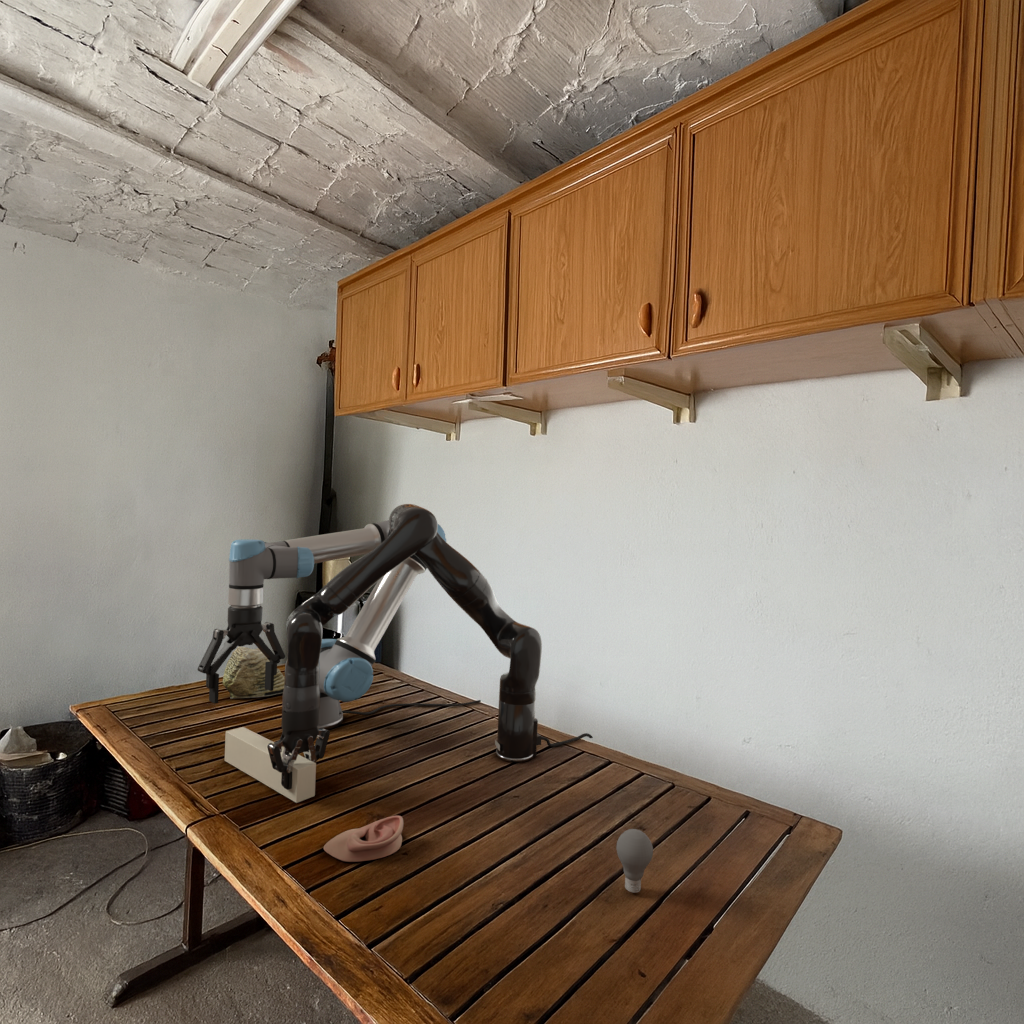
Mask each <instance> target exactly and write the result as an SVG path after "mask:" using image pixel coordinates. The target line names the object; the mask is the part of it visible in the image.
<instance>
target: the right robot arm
mask: <svg viewBox="0 0 1024 1024" xmlns="http://www.w3.org/2000/svg"><path fill="white" fill-rule="evenodd" d="M388 520H389V529H390V532H391V534H390V535H389V536H388V537H387V539H386V540H384V541H383V542H382V543H381V544H380V545H379V546H378V547H376V548H375V549H374V550H372V551H371V552H369V553H368V554H364V555H362V556H361V557H360V558H358V559H356V560H355V561H353V562H351V563H350V564H349V565H347V566H345V567H344V568H343V569H342V570H340V571H339V572H338V573H336V575H335V576H333V577H332V578H331V579H330V580H329V581H328V582H327V583H326V584H324V586H323V587H321V589H320V590H319V591H318V592H316V593H315V594H313V595H312V596H311V597H309V598H308V599H306V600H305V601H304V602H302V603H301V604H300V605H298V606H297V607H296V608H295V609H294V610H293V611H292V612H291V613H290V614H289V615H288V617H287V619H286V622H285V629H286V639H287V642H286V657H287V658H286V660H285V665H284V677H285V680H284V690H283V693H282V701H281V731H282V733H281V735H280V737H279V740H277V741H275V743H274V744H272V743H269V744H268V746H267V748H268V752H269V756H270V759H271V763H272V767H273V769H275V770H277V771H278V772H280V773H281V772H282V776H281V784H282V786H283V787H284V788H285V789H287V790H289V789H291V788H292V771H291V770H292V767H293V764H294V761H296V759H297V756H298V755H301V753H303V755H304V756H303V757H304V758H306V759H308V760H310V761H312V762H314V763H316V764H317V762H318V760H322V759H323V758H324V757H325V753H326V749H327V746H328V742H329V740H330V739H329V738H330V735H331V731H330V730H326V729H324V728H320V729H318V727H317V726H318V724H319V706H320V688H319V673H320V663H319V657H320V652H321V644H322V639H323V630H324V629H323V627H324V626H326V624H327V623H329V622H330V621H331V620H332V619H333V618H334V617H336V616H340V615H342V614H344V613H345V612H346V611H347V610H348V609H350V608H351V607H352V606H353V605H354V604H355V603H356V602H357V601H358V600H359V599H360V598H362V596H364V594H366V592H368V591H369V590H370V589H372V587H373V586H374V585H376V584H377V582H378V581H379V580H380V579H381V578H382V577H384V576H385V575H386V574H387V573H389V572H390V571H391V570H392V569H394V568H395V567H396V566H398V565H399V564H400V563H402V562H403V561H405V560H406V559H407V558H409V557H410V556H412V555H413V554H414V555H415V556H416V557H418V558H419V559H420V560H421V561H422V563H423V564H424V565H425V566H426V567H427V569H426V570H428V572H429V573H430V574H431V575H432V577H433V579H435V581H436V582H437V583H438V584H439V585H440V587H441V588H442V589H443V590H444V591H445V593H446V594H447V595H448V596H449V597H450V599H451V600H452V601H453V602H454V603H455V604H456V605H457V606H458V607H459V609H461V610H462V611H463V612H464V613H465V614H466V615H467V616H468V617H470V619H471V620H473V622H475V623H476V624H477V625H478V626H479V628H481V629H482V631H483V632H484V633H485V635H486V636H487V638H489V640H490V641H491V643H492V644H493V645H494V647H495V649H496V650H497V651H498V652H499V653H500V654H501V655H502V656H503V657H505V658H507V659H510V660H509V668H508V672H504V673H503V674H501V675H500V677H499V691H498V714H497V737H496V739H494V746H495V747H496V750H495V755H496V757H497V758H498V759H500V760H502V761H505V762H509V763H524V762H528V761H530V760H532V759H533V758H537V749H538V748H537V747H538V746H542V741H544V742H546V744H547V747H549V748H557V747H561V746H563V745H568V744H570V743H573V742H577V741H580V740H581V739H583V738H589V739H594V737H593V736H592V735H591V734H590V733H588V732H586V733H581V734H580V735H578V736H575V737H572V738H569V739H566V740H562V741H559V742H556V743H551V740H550V739H549V738H548V737H547V736H542V735H541V734H540V733H538V726H539V725H538V724H539V720H538V718H537V717H536V697H537V696H536V695H537V682H538V681H539V678H540V675H541V666H542V657H543V640H542V639H543V638H542V636H541V633H540V632H539V630H538V629H536V628H535V627H532V626H530V625H527V624H524V623H521V622H519V621H516V620H515V619H514V618H513V617H511V616H510V614H509V613H507V611H505V610H504V609H503V608H502V606H501V605H500V603H499V602H498V600H497V597H496V594H495V593H496V592H495V591H494V588H493V586H492V585H491V583H490V582H489V580H488V579H487V578H486V577H485V575H483V573H482V572H481V571H480V570H479V569H478V568H477V567H476V566H475V565H474V564H473V563H472V562H471V561H470V560H468V558H466V556H465V555H463V554H461V552H459V551H458V550H457V549H456V548H454V547H453V546H451V545H450V544H449V543H448V542H447V541H446V542H445V541H444V540H443V538H442V537H441V536H440V535H439V534H438V532H437V530H438V524H439V523H438V520H437V518H436V516H435V514H433V513H432V512H431V511H430V510H428V509H427V508H424V507H422V506H420V505H417V504H414V503H413V504H412V503H403V504H400V505H398V506H396V507H394V508H393V509H392V510H391V513H390V514H389V517H388ZM437 523H438V524H437ZM314 743H315V744H314ZM282 747H284V751H283V754H282V757H283V759H282V757H281V753H280V752H282ZM290 753H291V755H290Z"/></svg>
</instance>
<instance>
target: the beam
mask: <svg viewBox="0 0 1024 1024" xmlns="http://www.w3.org/2000/svg"><path fill="white" fill-rule="evenodd" d="M224 736H225V737H224V739H225V740H224V762H226V763H228V764H229V765H230V766H233V767H235V768H236V769H237V770H240V771H241V772H243V773H244V774H246V775H248V776H249V777H252V778H253V779H254V780H257V781H258V782H260V783H261V784H263V785H264V786H267V787H269V788H270V789H272V790H274V791H275V792H277V793H278V794H280V795H283V796H284V797H285V798H287V799H289V800H290V801H292V802H294V803H296V804H297V803H301V802H303V801H305V800H308V799H310V798H313V797H315V795H316V779H317V778H316V775H317V762H316V763H314V762H312V761H310V760H308V759H306V758H305V756H302V755H301V754H298V756H297V759H296V761H294V764H293V767H292V770H291V771H292V788H291V789H289V790H287V789H285V788H284V787H283V786H282V784H281V776H282V772H281V773H280V772H278V771H277V770H275V769H273V767H272V763H271V759H270V756H269V752H268V748H267V746H268V744H269V743H272V744H274V743H275V742H276V741H275V742H274V741H273V740H270V739H268V738H266V737H265V736H263V735H260V734H258V733H257V732H254V731H253V730H250V729H249V728H247V727H245V726H242V727H241V726H240V727H238V728H233V729H230V730H226V731H225V735H224ZM284 748H285V747H284V746H282V752H280V753H281V757H282V754H283V751H284ZM290 755H291V753H290ZM282 759H283V757H282Z"/></svg>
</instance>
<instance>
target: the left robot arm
mask: <svg viewBox="0 0 1024 1024" xmlns="http://www.w3.org/2000/svg"><path fill="white" fill-rule="evenodd" d="M437 524H438V530H437V532H438V534H439V535H440V536H441V537H442V538H443V540H444V541H445V542H446V543H447V538H446V533H445V530H444V529H443V527H442V526H441V524H439V523H438V522H437ZM390 534H391V532H390V529H389V519H387V520H382V521H378V522H372V523H367V524H366V525H365V526H364V528H357V529H349V530H342V531H337V532H330V533H324V534H318V535H311V536H305V537H304V536H303V537H298V538H292V539H284V540H278V541H272V542H267V541H264V540H262V539H248V538H247V539H243V538H242V539H235V540H233V541H232V542H231V543H230V549H229V558H228V563H229V569H228V571H229V572H228V595H227V596H228V597H227V599H228V600H227V602H228V603H227V604H228V605H229V606H228V608H227V628H226V629H219V628H214V629H213V632H212V637H211V641H210V643H209V645H208V646H207V649H206V650H205V652H204V654H203V657H202V658H201V660H200V663H199V665H198V667H197V672H200V673H202V674H205V686H206V688H207V689H209V690H208V692H209V693H208V701H209V702H211V703H213V704H218V703H219V688H220V687H219V686H220V673H217V672H218V670H219V669H220V668H221V667H222V665H223V664H224V663H225V662H226V660H227V659H228V657H229V656H230V655H231V654H232V653H233V652H234V651H235V650H236V649H237V648H238V647H245V646H253V644H254V646H256V648H259V649H260V651H261V652H262V653H263V654H264V655H265V656H266V657H267V659H268V660H269V661H270V662H266V664H265V689H267V690H269V691H273V688H274V676H275V675H276V674H277V668H278V664H279V663H280V662H281V660H284V659H285V658H286V654H285V652H284V650H283V647H282V645H281V643H280V640H279V638H278V636H277V634H276V632H275V624H274V623H273V622H269V621H265V622H264V623H263V624H262V621H263V609H264V608H263V606H262V605H263V603H264V582H265V580H273V579H274V580H275V579H276V580H277V579H299V578H306V577H309V576H310V575H311V574H312V573H313V571H314V568H315V564H321V563H325V562H330V561H337V560H341V559H346V558H352V557H358V556H365V555H366V554H368V553H369V552H371V551H372V550H374V549H375V548H376V547H378V546H379V545H380V544H381V543H382V542H383V541H384V540H386V539H387V537H388V536H389V535H390ZM426 570H428V569H427V567H426V566H425V565H424V564H423V563H422V561H421V560H420V559H419V558H418V557H416V556H415V555H414V554H413V555H412V556H410V557H409V558H407V559H406V560H405V561H403V562H402V563H400V564H399V565H398V566H396V567H395V568H394V569H392V570H391V571H390V572H389V573H387V574H386V575H385V576H384V577H382V578H381V579H380V580H379V581H378V582H376V583H375V584H374V585H375V586H374V587H373V589H372V591H371V592H370V594H369V596H368V597H367V598H366V601H365V602H364V604H363V606H362V607H361V609H360V611H359V613H358V614H357V616H356V618H355V619H354V621H353V622H352V625H351V626H350V628H349V629H348V632H347V633H346V635H344V636H341V637H339V638H322V644H321V652H320V657H319V663H320V673H319V688H320V706H319V724H318V726H317V727H318V729H320V728H324V729H326V730H328V731H330V730H332V729H335V728H337V727H339V726H340V725H342V723H343V722H344V714H349V715H350V714H351V715H352V714H353V715H360V716H368V715H372V714H375V713H377V712H378V711H381V710H383V709H386V708H392V707H394V708H395V707H413V706H414V707H461V706H462V707H464V706H469V705H474V704H479V703H481V699H477V700H472V701H468V702H461V703H460V702H459V703H423V702H422V703H421V702H420V703H419V702H418V703H413V702H411V703H392V704H391V703H390V704H385V705H382V706H380V707H377V708H375V709H373V710H371V711H365V712H362V711H355V710H343V709H342V706H341V702H343V703H350V702H353V701H357V700H358V699H360V698H361V697H363V696H364V695H365V694H366V693H367V692H368V691H369V690H370V688H371V686H372V684H373V681H374V669H373V665H374V664H375V662H376V661H377V660H376V655H375V651H376V648H377V646H378V645H379V644H380V641H381V640H382V638H383V636H384V635H385V633H386V631H387V629H388V627H389V625H390V623H391V622H392V620H393V618H394V617H395V615H396V613H397V611H398V609H400V608H399V607H400V605H402V603H403V600H404V599H405V597H406V595H407V593H408V591H409V590H410V589H411V588H410V587H411V586H412V584H413V583H414V581H415V579H416V577H417V576H418V575H421V574H424V573H426ZM262 632H263V633H264V634H265V636H266V639H267V640H268V643H269V646H270V647H269V646H268V645H267V644H266V643H265V640H263V638H262V637H261V636H260V635H261V633H262ZM226 636H227V638H226ZM225 638H226V640H225V641H224V643H223V640H224V639H225ZM222 643H223V646H222ZM221 646H222V647H221ZM220 647H221V648H220ZM271 649H272V650H271Z"/></svg>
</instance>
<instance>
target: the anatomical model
mask: <svg viewBox="0 0 1024 1024" xmlns="http://www.w3.org/2000/svg"><path fill="white" fill-rule="evenodd" d="M403 829H404V818H403V816H401V815H392V816H391V815H390V816H388V817H384V818H381V819H379V820H376V821H373V822H371V823H368V824H367V825H364V826H362V827H359V828H352V829H348V830H345V831H343V832H341V833H339V834H337V835H335V836H334V837H332V838H330V840H328V841H327V842H326V843H325V844H324V846H323V850H324V852H326V853H327V854H328V855H330V856H331V857H333V858H335V859H337V860H339V861H341V862H346V863H356V862H366V861H373V860H374V861H375V860H377V859H378V860H379V859H382V858H385V857H387V856H390V855H392V854H395V853H396V852H398V850H399V849H401V846H402V843H403V836H402V833H403Z"/></svg>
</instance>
